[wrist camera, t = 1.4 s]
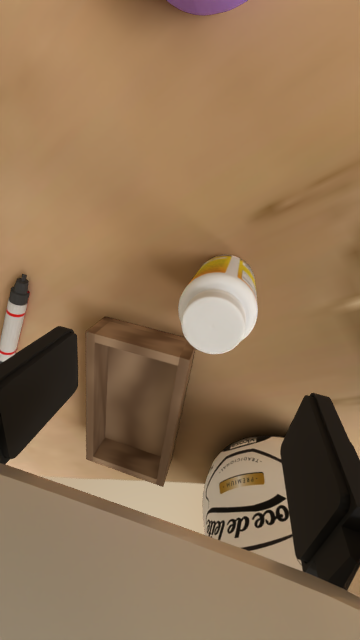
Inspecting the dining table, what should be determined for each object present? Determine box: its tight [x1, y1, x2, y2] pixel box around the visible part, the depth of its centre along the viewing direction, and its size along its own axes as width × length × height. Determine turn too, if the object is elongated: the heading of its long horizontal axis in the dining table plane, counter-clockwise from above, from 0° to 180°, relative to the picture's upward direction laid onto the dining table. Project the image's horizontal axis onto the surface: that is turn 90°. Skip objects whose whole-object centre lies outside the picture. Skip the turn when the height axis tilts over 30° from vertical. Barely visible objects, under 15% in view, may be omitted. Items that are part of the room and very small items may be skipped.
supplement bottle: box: [178, 255, 258, 354], centre depth 20 cm, size 6×6×10 cm
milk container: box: [203, 436, 303, 571], centre depth 25 cm, size 17×17×18 cm
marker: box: [0, 274, 30, 364], centre depth 33 cm, size 15×2×2 cm, turn 151°
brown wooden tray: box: [86, 317, 196, 486], centre depth 32 cm, size 11×20×4 cm, turn 171°
